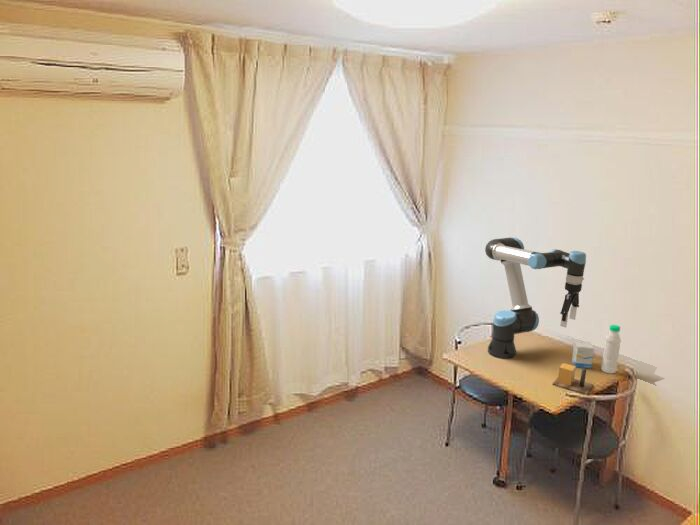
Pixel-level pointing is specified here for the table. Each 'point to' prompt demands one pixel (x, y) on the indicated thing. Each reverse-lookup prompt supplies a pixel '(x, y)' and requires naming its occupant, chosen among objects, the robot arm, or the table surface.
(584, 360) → the ink box
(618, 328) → the water bottle
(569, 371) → the orange rectangular block
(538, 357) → the table surface
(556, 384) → the pigtail board
